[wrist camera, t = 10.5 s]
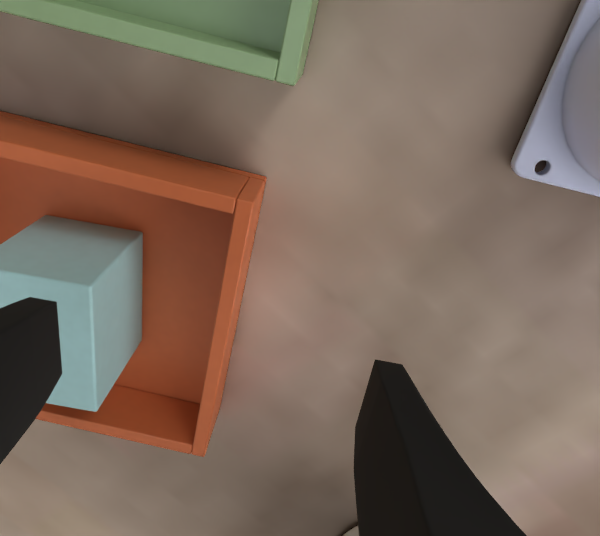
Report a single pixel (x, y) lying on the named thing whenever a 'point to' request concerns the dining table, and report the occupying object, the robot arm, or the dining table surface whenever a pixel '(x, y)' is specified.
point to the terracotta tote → (146, 266)
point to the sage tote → (194, 29)
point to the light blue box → (81, 298)
